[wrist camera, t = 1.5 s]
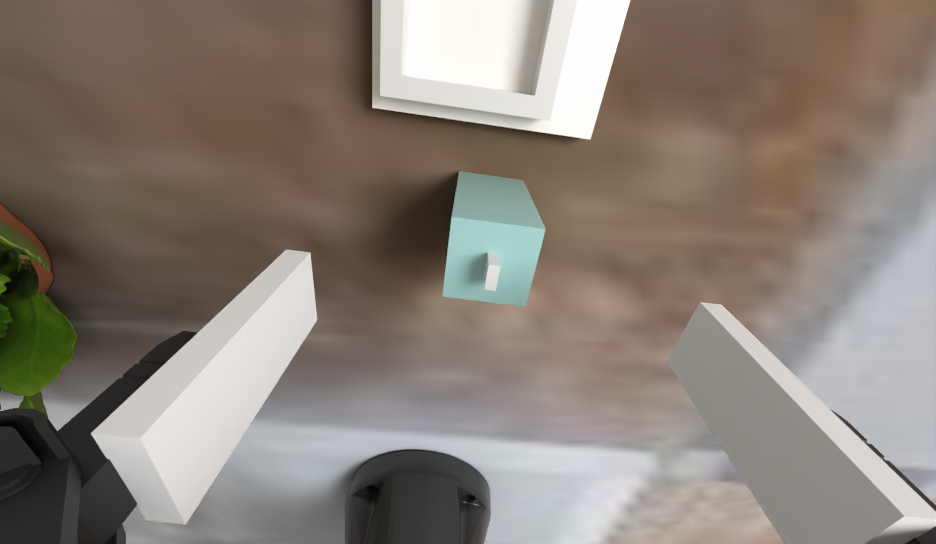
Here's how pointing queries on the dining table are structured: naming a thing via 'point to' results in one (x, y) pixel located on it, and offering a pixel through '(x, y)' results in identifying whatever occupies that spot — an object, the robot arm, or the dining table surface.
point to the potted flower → (29, 316)
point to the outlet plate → (496, 60)
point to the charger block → (492, 240)
